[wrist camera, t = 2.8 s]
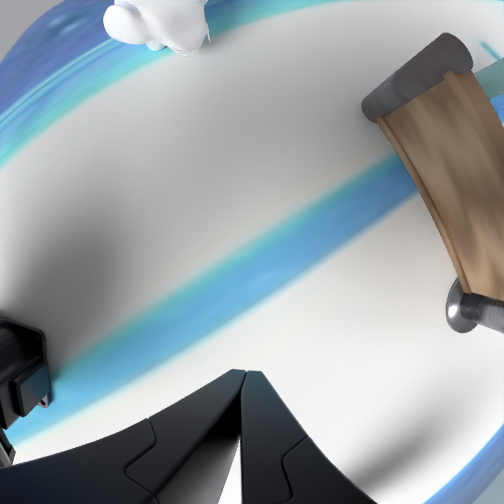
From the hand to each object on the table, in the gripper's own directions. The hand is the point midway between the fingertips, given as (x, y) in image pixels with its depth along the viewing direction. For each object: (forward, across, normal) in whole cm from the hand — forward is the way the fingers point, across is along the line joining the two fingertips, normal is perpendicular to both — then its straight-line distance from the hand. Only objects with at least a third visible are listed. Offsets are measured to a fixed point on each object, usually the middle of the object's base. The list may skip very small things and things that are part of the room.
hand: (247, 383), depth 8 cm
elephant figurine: (+13, -8, +15) cm, 21 cm away
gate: (+13, +11, +4) cm, 18 cm away
